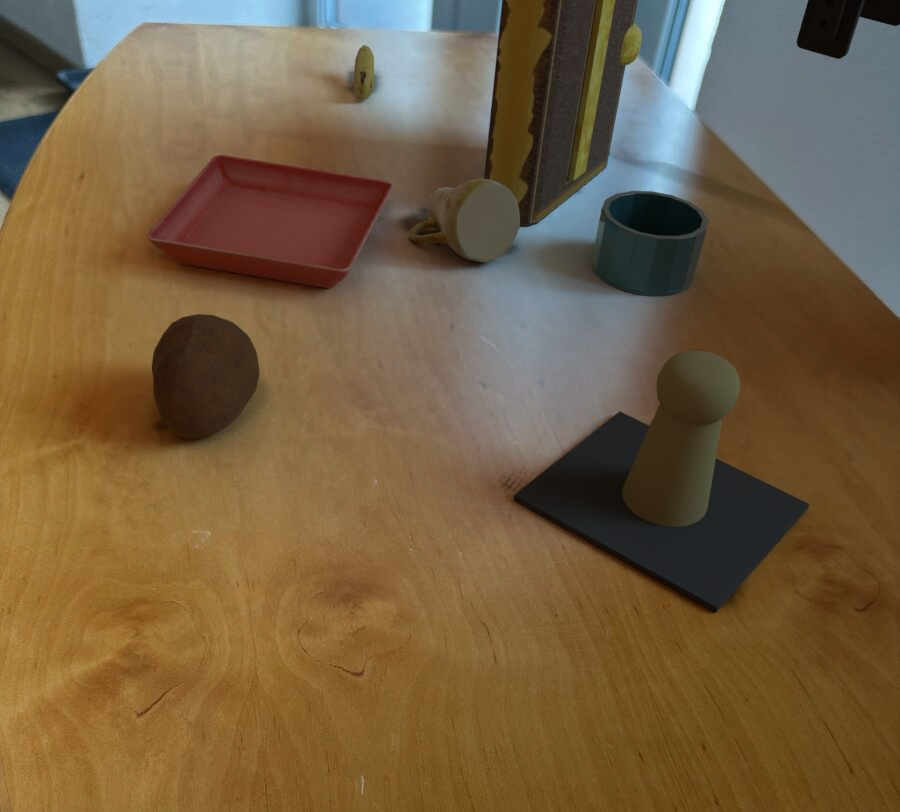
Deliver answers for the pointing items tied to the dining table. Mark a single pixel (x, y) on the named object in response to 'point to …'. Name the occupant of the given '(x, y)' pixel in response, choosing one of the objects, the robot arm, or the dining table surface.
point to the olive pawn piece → (682, 440)
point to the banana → (364, 73)
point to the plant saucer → (271, 220)
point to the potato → (203, 374)
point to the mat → (653, 546)
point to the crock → (648, 242)
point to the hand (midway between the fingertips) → (850, 35)
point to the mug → (472, 219)
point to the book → (556, 96)
